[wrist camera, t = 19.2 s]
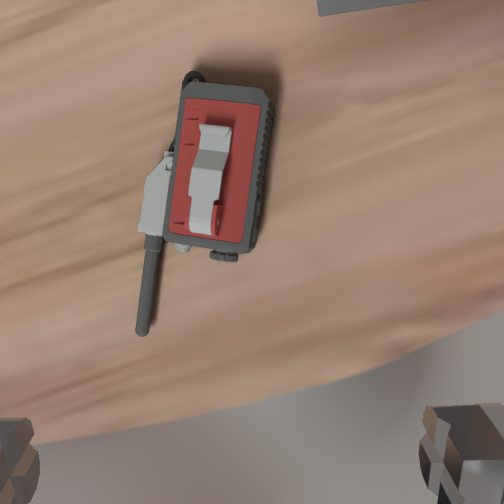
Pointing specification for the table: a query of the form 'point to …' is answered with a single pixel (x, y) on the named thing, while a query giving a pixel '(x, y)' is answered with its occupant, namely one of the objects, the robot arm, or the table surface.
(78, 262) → the table surface
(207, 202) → the walkie-talkie
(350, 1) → the stand
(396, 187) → the table surface
